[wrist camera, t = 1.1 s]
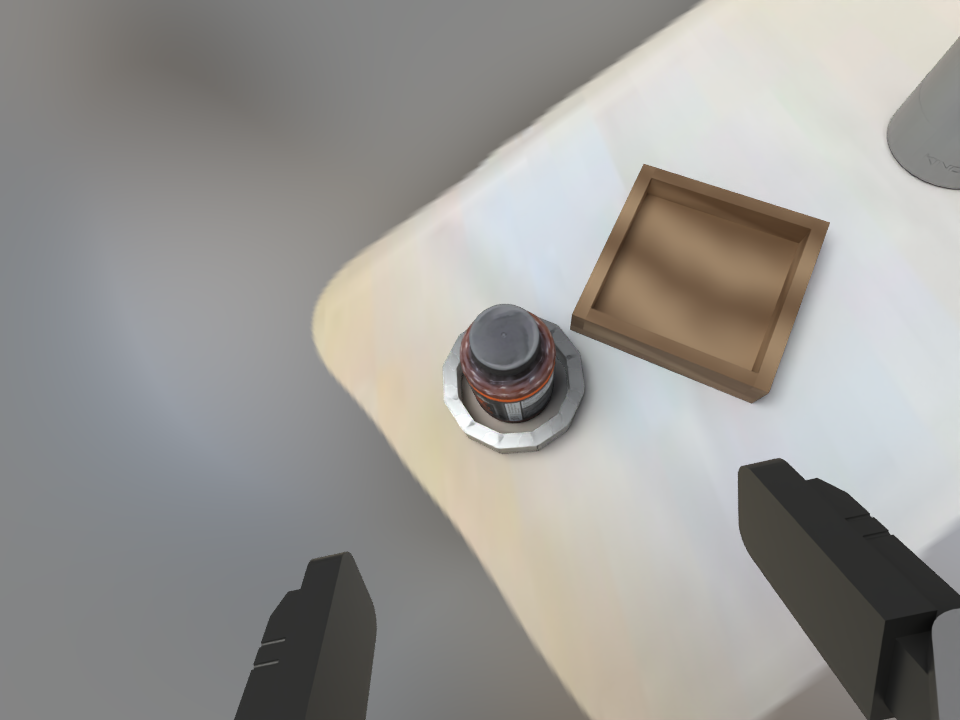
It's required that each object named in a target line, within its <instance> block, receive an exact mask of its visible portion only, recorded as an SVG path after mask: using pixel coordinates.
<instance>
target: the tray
mask: <svg viewBox="0 0 960 720" xmlns="http://www.w3.org/2000/svg"><path fill="white" fill-rule="evenodd" d="M829 224H830V222H826V221H823V220H820V219H817V218H814V217H811V216H807V215H804V214H801V213H798V212H795V211H792V210H788V209H785V208H782V207H779V206H776V205H773V204H769V203H766V202H763V201H760V200H757V199H754V198H750V197H747V196H744V195H741V194H738V193H735V192H731V191H728V190H725V189H722V188H719V187H716V186H712V185H709V184H706V183H703V182H700V181H697V180H693V179H690V178H687V177H684V176H681V175H678V174H674V173H671V172H668V171H665V170H662V169H659V168H655V167H652V166H649V165H646V164H643V167H642V169H641V171H640V173H639V175H638V177H637V179H636V181H635V183H634V185H633V188H632V190H631V192H630V194H629V196H628V198H627V200H626V202H625V204H624V206H623V209H622V211H621V213H620V215H619V217H618V219H617V221H616V223H615V225H614V227H613V230H612V232H611V234H610V236H609V238H608V240H607V242H606V244H605V246H604V248H603V251H602V253H601V255H600V257H599V259H598V261H597V263H596V265H595V267H594V269H593V272H592V274H591V276H590V278H589V280H588V282H587V284H586V286H585V288H584V290H583V293H582V295H581V297H580V299H579V301H578V303H577V305H576V307H575V309H574V311H573V314H572V319H571V326H570V330H573V331H575V332H578V333H580V334H583V335H585V336H587V337H590V338H592V339H595V340H597V341H600V342H602V343H605V344H607V345H610V346H612V347H614V348H617V349H619V350H622V351H624V352H627V353H629V354H632V355H634V356H637V357H639V358H641V359H644V360H646V361H649V362H651V363H654V364H656V365H659V366H661V367H664V368H666V369H668V370H671V371H673V372H676V373H678V374H681V375H683V376H686V377H688V378H691V379H693V380H695V381H698V382H700V383H703V384H705V385H708V386H710V387H713V388H715V389H718V390H720V391H722V392H725V393H727V394H730V395H732V396H735V397H737V398H740V399H742V400H745V401H747V402H749V403H753V402H755V401H757V400H758V399H760V398H761V397H763V396H765V395H766V394H768V393H769V391H770V388H771V385H772V383H773V380H774V377H775V374H776V372H777V369H778V366H779V363H780V360H781V358H782V355H783V352H784V349H785V346H786V344H787V341H788V338H789V335H790V333H791V330H792V327H793V324H794V321H795V319H796V316H797V313H798V310H799V308H800V305H801V302H802V299H803V296H804V294H805V291H806V288H807V285H808V282H809V280H810V277H811V274H812V271H813V269H814V266H815V263H816V260H817V257H818V255H819V252H820V249H821V246H822V244H823V241H824V238H825V235H826V232H827V230H828V227H829Z"/></svg>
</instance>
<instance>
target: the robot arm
mask: <svg viewBox="0 0 960 720" xmlns="http://www.w3.org/2000/svg"><path fill="white" fill-rule="evenodd" d="M887 139H888V143H889V147H890V149H891V151H892V153H893V155H894V157H895V158H896V159H897V161H898V162H899V163H900V164H901V165H902V166H903V167H904V168H905V169H906V170H908V171H909V172H910V173H911V174H913V175H915V176H916V177H918V178H920V179H922V180H923V181H926V182H929V183H931V184H934V185H937V186H942V187H947V188H954V189H960V37H959V38H958V39H957V40H956V41H955V43H954V44H953V45H952V46H951V47H950V48H949V50H948V51H947V52H946V53H945V54H944V56H943V57H942V58H941V59H940V60H939V62H938V63H937V64H936V65H935V66H934V67H933V69H932V70H931V71H930V72H929V73H928V74H927V75H926V77H925V78H924V79H923V80H922V81H921V83H920V84H919V85H918V86H917V87H916V89H915V90H914V91H913V92H912V93H911V94H910V96H909V97H908V98H907V99H906V100H905V102H904V103H903V104H902V105H901V106H900V108H899V109H898V110H897V111H896V113H895V114H894V115H893V117H892V118H891V120H890V123H889V126H888V132H887ZM738 513H739V530H740V534H741V537H742V540H743V543H744V545H745V547H746V549H747V551H748V553H749V555H750V556H751V558H752V559H753V560H754V562H755V563H756V565H757V566H758V567H759V569H760V570H761V572H762V573H763V574H764V576H765V577H766V579H767V580H768V581H769V583H770V584H771V586H772V587H773V588H774V590H775V591H776V593H777V594H778V595H779V597H780V598H781V600H782V601H783V602H784V604H785V605H786V607H787V608H788V609H789V611H790V612H791V614H792V615H793V616H794V618H795V619H796V621H797V622H798V623H799V625H800V626H801V628H802V629H803V630H804V632H805V633H806V635H807V636H808V637H809V639H810V640H811V642H812V643H813V644H814V646H815V647H816V649H817V650H818V651H819V653H820V654H821V656H822V657H823V658H824V660H825V661H826V663H827V664H828V665H829V667H830V668H831V670H832V671H833V672H834V674H835V675H836V676H837V678H838V679H839V681H840V682H841V684H842V685H843V686H844V688H845V689H846V691H847V692H848V693H849V695H850V696H851V697H852V699H853V700H854V702H855V703H856V704H857V706H858V707H859V709H860V710H861V712H862V713H863V714H864V716H865V717H866V719H867V720H884V719H889V718H893V717H895V718H896V719H897V720H960V595H959V594H958V593H957V592H956V591H954V589H952V588H951V587H950V586H949V585H948V584H947V583H946V582H945V581H944V580H943V579H941V578H940V577H939V576H938V575H937V574H936V573H935V572H934V571H933V570H931V569H930V568H929V567H928V566H927V565H926V564H925V563H924V562H923V561H922V560H921V559H919V558H918V557H917V556H916V555H915V554H914V553H913V552H912V551H911V550H910V549H908V548H907V547H906V546H905V545H904V544H903V543H902V542H901V541H900V540H899V539H897V538H896V537H895V536H894V535H890V534H889V532H888V529H886V528H885V527H884V526H883V525H882V524H881V523H880V522H879V521H878V520H877V519H875V518H874V517H873V518H872V517H871V516H870V513H869V512H868V511H867V510H866V509H864V508H863V507H862V506H861V505H860V504H859V503H858V502H857V501H856V500H855V499H853V498H852V497H851V496H850V495H849V494H848V493H847V492H845V491H843V490H841V489H839V488H837V487H835V486H833V485H831V484H829V483H827V482H825V481H823V480H821V479H819V478H815V479H810V480H805V479H804V478H803V477H802V476H801V475H800V474H799V473H798V472H797V471H795V470H794V469H793V468H792V467H791V466H790V465H789V464H788V463H787V462H786V461H785V460H783V459H781V458H777V459H772V460H768V461H763V462H759V463H754V464H749V465H745V466H741V467H740V468H739V471H738ZM376 627H377V626H376V614H375V609H374V605H373V602H372V600H371V598H370V595H369V593H368V590H367V588H366V586H365V584H364V581H363V579H362V576H361V574H360V572H359V570H358V567H357V565H356V563H355V560H354V558H353V556H352V555H351V553H349V552H343V553H339V554H334V555H329V556H325V557H320V558H316V559H312V560H311V561H310V562H309V564H308V566H307V570H306V572H305V576H304V579H303V582H302V586H301V589H299V590H294V591H290V592H288V593H287V594H286V595H285V597H284V598H283V600H282V601H281V602H280V604H279V605H278V606H277V608H276V609H275V610H274V612H273V613H272V615H271V616H270V619H269V621H268V624H267V627H266V630H265V633H264V636H263V639H262V641H261V643H262V646H261V647H260V648H259V650H258V653H257V656H256V659H255V662H254V670H251V673H250V676H249V679H248V682H247V684H246V687H245V690H244V693H243V696H242V699H241V702H240V705H239V707H238V710H237V713H236V717H235V719H234V720H365V719H366V711H367V703H368V696H369V688H370V680H371V672H372V664H373V657H374V649H375V641H376V630H377V628H376Z"/></svg>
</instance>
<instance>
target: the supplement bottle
mask: <svg viewBox="0 0 960 720" xmlns="http://www.w3.org/2000/svg"><path fill="white" fill-rule="evenodd" d="M555 356H556V351H555V344H554V340H553V337H552V335H551V332H550V331H549V329H548V327H547V326H546V325H545V323H544V322H543V321H542V320H541V319H540V318H538V317H537V316H535V315H534V314H532V313H530V312H528V311H526V310H524V309H523V308H521V307H518V306H515V305H510V304H499V305H495V306H492V307H490V308H488V309H486V310H484V311H483V312H482V313H480V314H479V315H478V317H477V318H476V319H475V320H474V322H473V323H472V324H471V325H470V326H469V327H468V329H467V330H466V332H465V334H464V336H463V339H462V342H461V347H460V362H461V367H462V370H463V373H464V375H465V377H466V379H467V381H468V383H469V385H470V387H471V389H472V391H473V393H474V395H475V397H476V399H477V401H478V402H479V404H480V406H481V407H482V408H483V409H484V410H485V411H486V412H487V413H488V414H489V415H491V416H492V417H494V418H496V419H498V420H500V421H503V422H508V423H518V422H524V421H527V420H530V419H532V418H533V417H535V416H536V415H538V414H539V413H540V412H541V411H542V410H543V409H544V408H545V407H546V405H547V403H548V402H549V399H550V398H551V394H552V390H553V382H554V371H555Z"/></svg>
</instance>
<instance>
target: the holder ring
mask: <svg viewBox="0 0 960 720" xmlns="http://www.w3.org/2000/svg"><path fill="white" fill-rule="evenodd" d="M538 318H539V317H538ZM540 319H541V318H540ZM541 320H542V321H543V322H544V323H545V325H546V326H547V327H548V329H549V331H550V332H551V335H552V337H553V340H554V344H555V351H556V357H557V359H558V360H559V361H560V362H561V364H562V365H563V366H564V368H565V371H566V380H567V388H568V392H567V394H566V397H565V399H564V401H563V403H562V405H561V407H560V410H559V412H558V414H557V415H555V416H554V417H552V418H551V419H550V420H548V421H547V422H545V423H544V424H542V425H541V426H539V427H538V428H537V429H535V430H534V431H532V432H520V433H508V434H500V433H498V432H496V431H494V430H492V429H490V428H488V427H485V426H483V425H481V424H479V423H477V422H475V421H474V420H473V419H472V417H471V416H470V414H469V413H468V411H467V410H466V408H465V407H464V406H463V400H462V380H461V378H462V376H463V374H464V373H463V370H462V367H461V362H460V347H461V342H462V339H463V336H464V334H465V332H466V331H464V332H463V333H461V334H460V336H458V338H457V340H456V342H455V344H454V346H453V348H452V350H451V351H450V353H449V355H448V357H447V359H446V361H445V363H444V365H443V387H444V402H445V404H446V405H447V407H448V408H449V410H450V411H451V413H452V414H453V416H454V417H455V419H456V421H457V422H458V424H459V425H460V427H461V428H462V430H463V431H464V432H465V434H466V435H467V436H468V437H469V438H470V439H472V440H474V441H476V442H478V443H480V444H482V445H484V446H486V447H488V448H490V449H492V450H494V451H497V452H499V453H502V454H505V453H518V452H531V451H537V450H540V449H541V448H543V447H544V446H546V445H547V444H549V443H550V442H551V441H553V440H554V439H556V438H557V437H559V436H560V435H561V434H563V433H564V432H566V431H567V430H568V428H569V426H570V424H571V422H572V420H573V417H574V415H575V413H576V411H577V408H578V406H579V404H580V402H581V400H582V397H583V393H584V389H585V387H584V380H583V372H582V364H581V356H580V353H579V351H578V350H577V349H576V347H575V346H574V345H573V344H572V342H571V341H570V340H569V339H568V337H567V336H566V335H565V334H564V332H563V331H562V330H561V329H560V327H559V326H557V325H556V324H554V323H551V322H549V321H546V320H544V319H541Z"/></svg>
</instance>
